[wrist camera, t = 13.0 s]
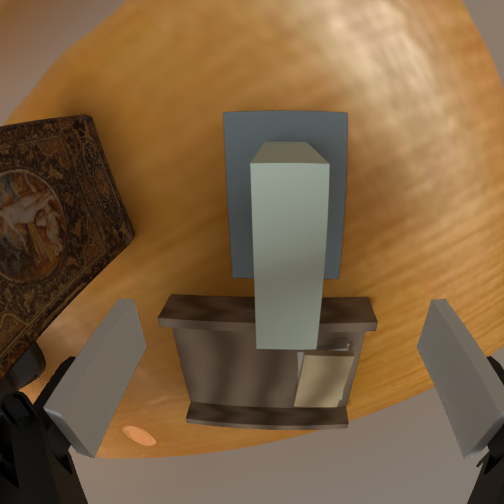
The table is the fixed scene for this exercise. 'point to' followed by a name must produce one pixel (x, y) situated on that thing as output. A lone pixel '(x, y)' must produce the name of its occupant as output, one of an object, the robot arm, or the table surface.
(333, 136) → the mat
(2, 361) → the book
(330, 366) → the offcut oak
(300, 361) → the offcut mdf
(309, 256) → the upright sage slab
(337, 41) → the table surface
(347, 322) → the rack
